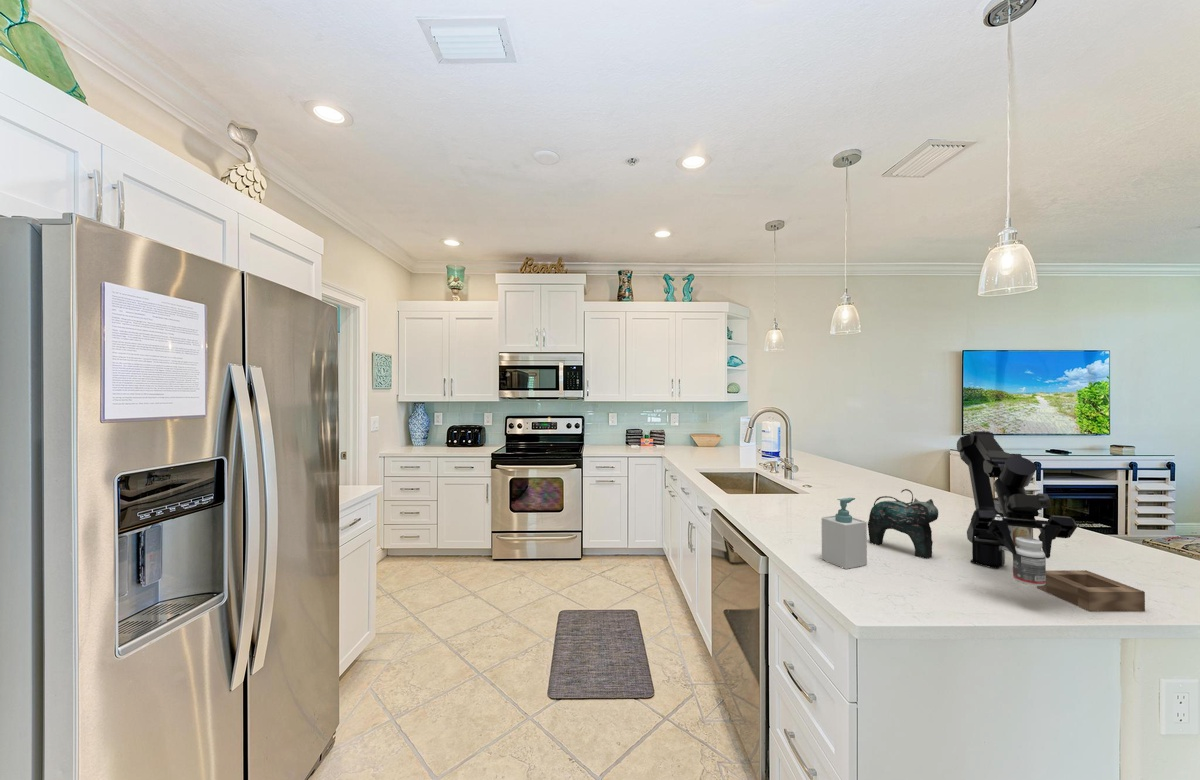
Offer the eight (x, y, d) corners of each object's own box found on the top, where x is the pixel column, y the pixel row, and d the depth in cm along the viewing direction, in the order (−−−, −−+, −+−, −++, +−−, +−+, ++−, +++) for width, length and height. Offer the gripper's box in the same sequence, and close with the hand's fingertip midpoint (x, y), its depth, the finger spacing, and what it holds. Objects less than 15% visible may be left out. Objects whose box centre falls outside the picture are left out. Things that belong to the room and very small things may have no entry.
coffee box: (1011, 543, 154) (1011, 495, 154) (1034, 549, 148) (1033, 499, 148) (991, 546, 151) (990, 497, 151) (1013, 552, 145) (1012, 501, 145)
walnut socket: (1089, 611, 106) (1089, 591, 106) (1037, 587, 119) (1036, 570, 119) (1145, 611, 106) (1144, 591, 106) (1086, 587, 119) (1086, 570, 119)
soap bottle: (867, 565, 135) (867, 500, 135) (845, 569, 132) (845, 503, 132) (842, 555, 143) (842, 494, 143) (821, 559, 140) (820, 496, 140)
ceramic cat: (940, 558, 140) (939, 493, 141) (928, 562, 137) (928, 495, 138) (875, 540, 158) (874, 482, 158) (863, 543, 155) (863, 483, 155)
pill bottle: (1012, 574, 113) (1011, 534, 113) (1044, 580, 109) (1044, 539, 109) (1013, 582, 108) (1013, 540, 108) (1047, 589, 105) (1046, 545, 105)
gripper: (973, 477, 116) (988, 533, 106) (1072, 483, 108) (1099, 544, 98) (965, 501, 123) (978, 556, 114) (1057, 508, 115) (1080, 568, 106)
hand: (1031, 555), depth 108 cm, fingers closed on pill bottle, 6 cm apart
